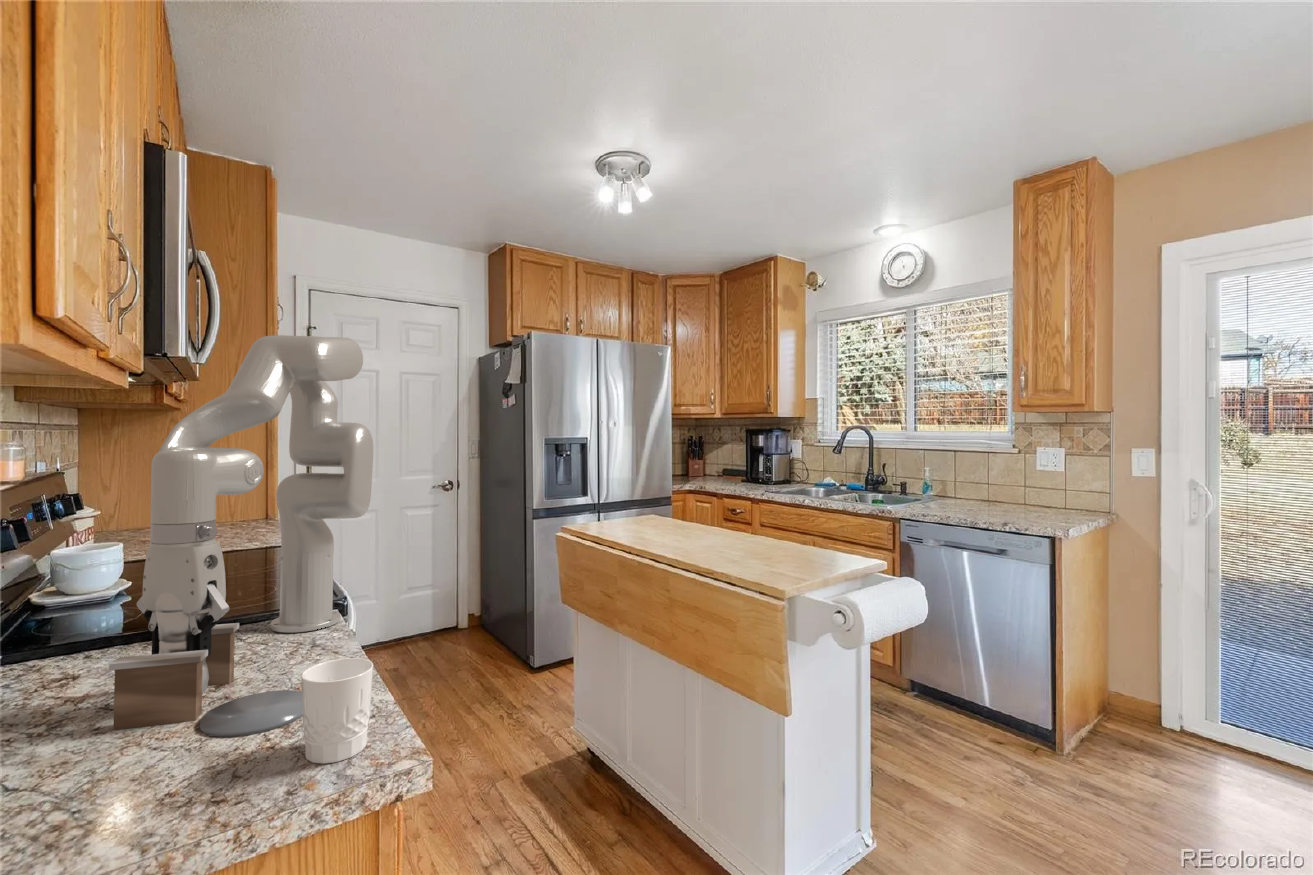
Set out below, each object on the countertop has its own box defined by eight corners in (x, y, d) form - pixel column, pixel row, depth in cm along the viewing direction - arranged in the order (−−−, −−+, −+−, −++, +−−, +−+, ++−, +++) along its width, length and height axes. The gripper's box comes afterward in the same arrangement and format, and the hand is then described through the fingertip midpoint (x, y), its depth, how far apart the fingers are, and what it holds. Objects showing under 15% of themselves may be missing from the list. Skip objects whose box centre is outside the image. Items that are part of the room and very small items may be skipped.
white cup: (287, 753, 72) (289, 672, 72) (350, 728, 78) (352, 653, 78) (320, 774, 67) (321, 687, 68) (384, 745, 74) (386, 666, 74)
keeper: (162, 685, 91) (163, 628, 91) (238, 677, 95) (239, 622, 95) (107, 731, 77) (109, 664, 77) (199, 720, 80) (200, 656, 80)
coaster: (220, 700, 86) (220, 696, 86) (320, 689, 90) (320, 685, 90) (182, 743, 74) (182, 739, 74) (300, 728, 78) (300, 723, 78)
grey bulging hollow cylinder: (156, 715, 81) (159, 571, 81) (148, 700, 86) (151, 563, 86) (213, 700, 86) (216, 564, 86) (203, 686, 90) (205, 557, 91)
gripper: (255, 532, 88) (253, 652, 88) (161, 527, 91) (159, 644, 91) (209, 540, 81) (206, 672, 81) (108, 535, 84) (105, 662, 84)
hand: (181, 656), depth 86 cm, fingers closed on grey bulging hollow cylinder, 5 cm apart
